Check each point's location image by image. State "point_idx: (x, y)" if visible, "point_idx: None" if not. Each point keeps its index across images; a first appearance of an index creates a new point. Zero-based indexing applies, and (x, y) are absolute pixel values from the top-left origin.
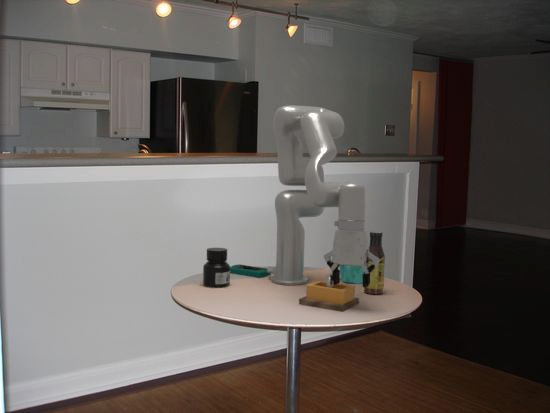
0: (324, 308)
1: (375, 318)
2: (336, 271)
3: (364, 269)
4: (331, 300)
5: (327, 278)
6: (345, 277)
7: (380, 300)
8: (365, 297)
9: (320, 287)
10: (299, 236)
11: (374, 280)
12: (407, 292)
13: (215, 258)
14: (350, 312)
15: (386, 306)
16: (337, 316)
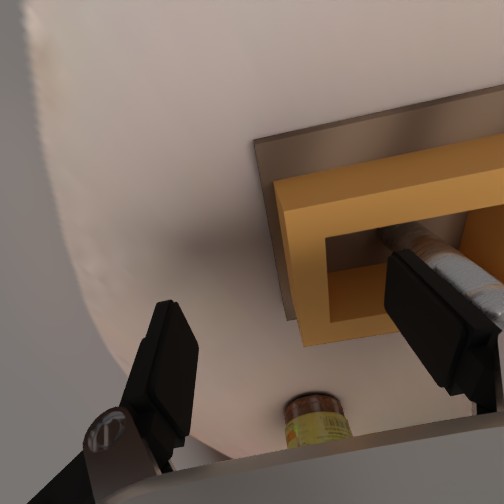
0: (361, 116)
1: (62, 162)
2: (456, 343)
3: (121, 455)
4: (351, 168)
5: (491, 279)
6: None
7: (245, 368)
8: (303, 365)
9: (485, 170)
10: None
11: None
12: (243, 449)
13: None
14: (215, 161)
15: None
16: (209, 14)
